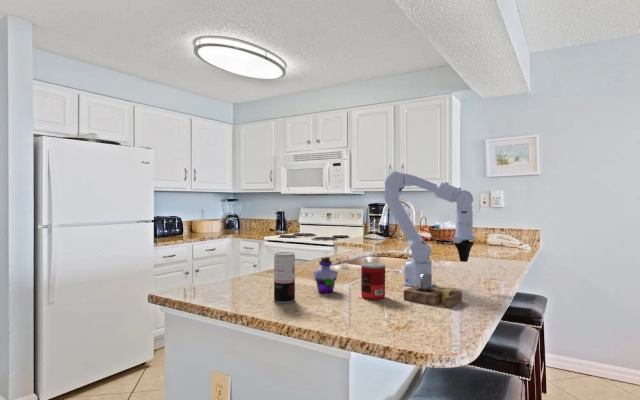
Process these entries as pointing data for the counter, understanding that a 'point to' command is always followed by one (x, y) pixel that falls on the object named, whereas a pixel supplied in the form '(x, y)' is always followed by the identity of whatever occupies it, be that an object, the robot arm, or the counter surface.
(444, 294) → the khaki rectangular plank
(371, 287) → the canned food
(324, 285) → the potion bottle
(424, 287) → the peg
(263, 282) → the counter surface
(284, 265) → the beverage can
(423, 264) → the robot arm
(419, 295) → the mount
